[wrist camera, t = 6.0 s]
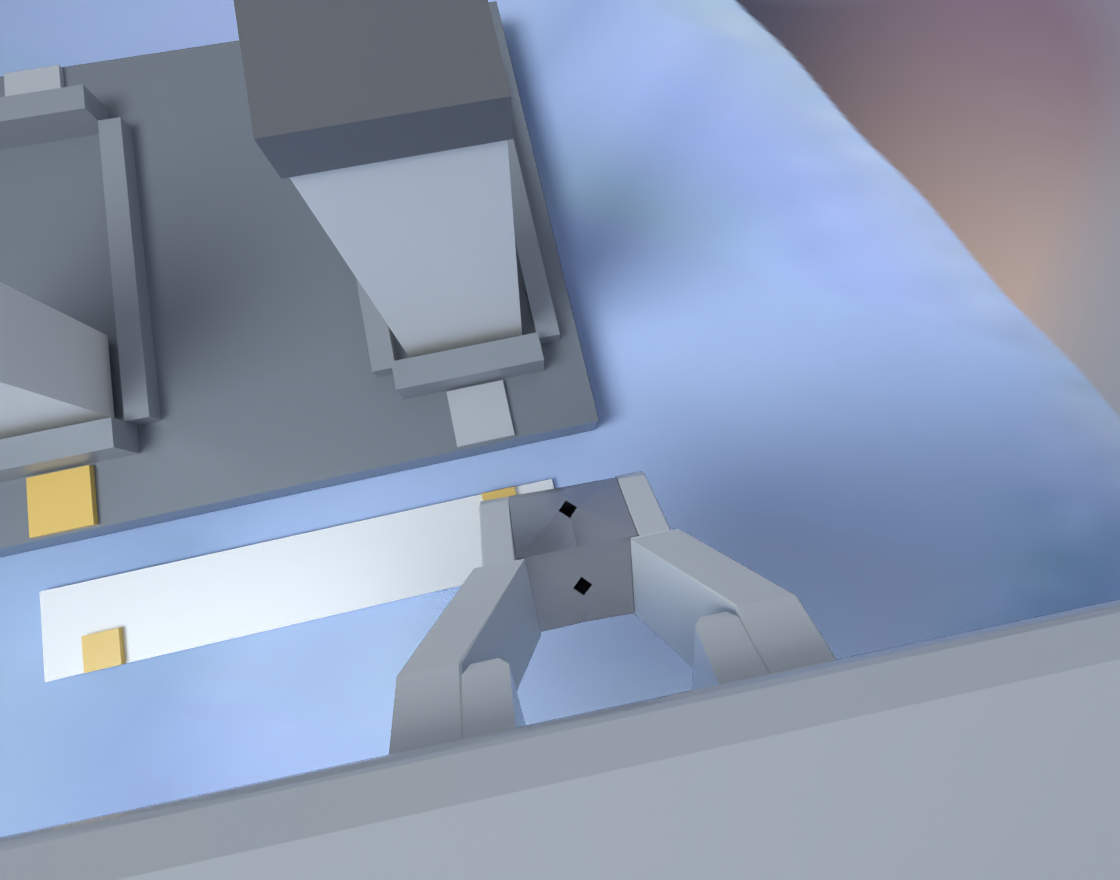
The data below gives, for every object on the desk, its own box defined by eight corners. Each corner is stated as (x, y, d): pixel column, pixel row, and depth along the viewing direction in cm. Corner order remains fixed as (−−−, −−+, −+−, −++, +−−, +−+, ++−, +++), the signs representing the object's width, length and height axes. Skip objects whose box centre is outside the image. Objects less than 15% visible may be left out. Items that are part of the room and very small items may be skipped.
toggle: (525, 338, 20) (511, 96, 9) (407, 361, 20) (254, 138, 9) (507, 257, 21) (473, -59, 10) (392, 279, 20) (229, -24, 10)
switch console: (623, 547, 21) (635, 547, 18) (-13, 695, 19) (-102, 718, 16) (498, 33, 25) (493, -28, 22) (-36, 117, 23) (-110, 61, 20)
